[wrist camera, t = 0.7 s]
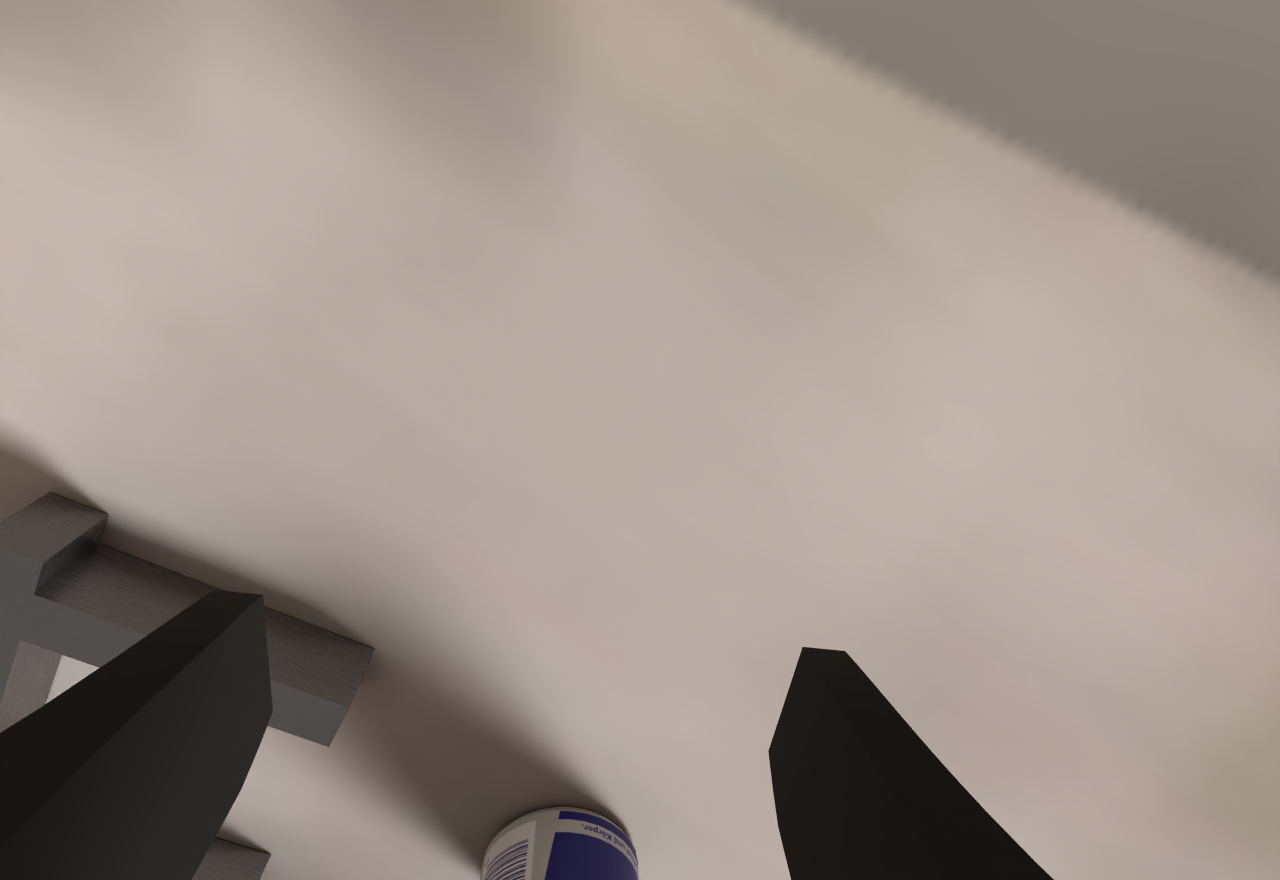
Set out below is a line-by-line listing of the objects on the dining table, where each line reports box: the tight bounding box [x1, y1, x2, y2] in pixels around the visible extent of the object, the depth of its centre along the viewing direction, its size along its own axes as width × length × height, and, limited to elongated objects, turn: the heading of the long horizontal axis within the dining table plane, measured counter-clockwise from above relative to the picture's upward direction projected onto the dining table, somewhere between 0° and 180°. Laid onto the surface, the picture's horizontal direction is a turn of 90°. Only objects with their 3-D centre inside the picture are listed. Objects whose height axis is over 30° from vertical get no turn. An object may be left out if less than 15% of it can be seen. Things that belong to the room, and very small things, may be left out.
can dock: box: [0, 492, 375, 880], centre depth 21 cm, size 13×10×2 cm
